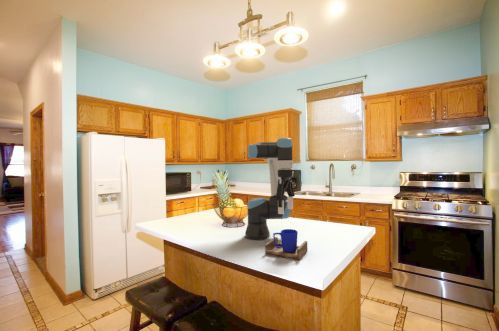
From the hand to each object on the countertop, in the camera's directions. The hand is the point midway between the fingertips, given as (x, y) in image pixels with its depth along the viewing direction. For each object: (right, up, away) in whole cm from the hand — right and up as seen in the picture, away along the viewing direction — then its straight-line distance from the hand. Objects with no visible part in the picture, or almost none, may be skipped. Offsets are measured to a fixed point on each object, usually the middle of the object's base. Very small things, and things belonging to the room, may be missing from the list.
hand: (285, 211), depth 125 cm
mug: (0, -20, -1) cm, 20 cm away
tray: (0, -21, 0) cm, 21 cm away
